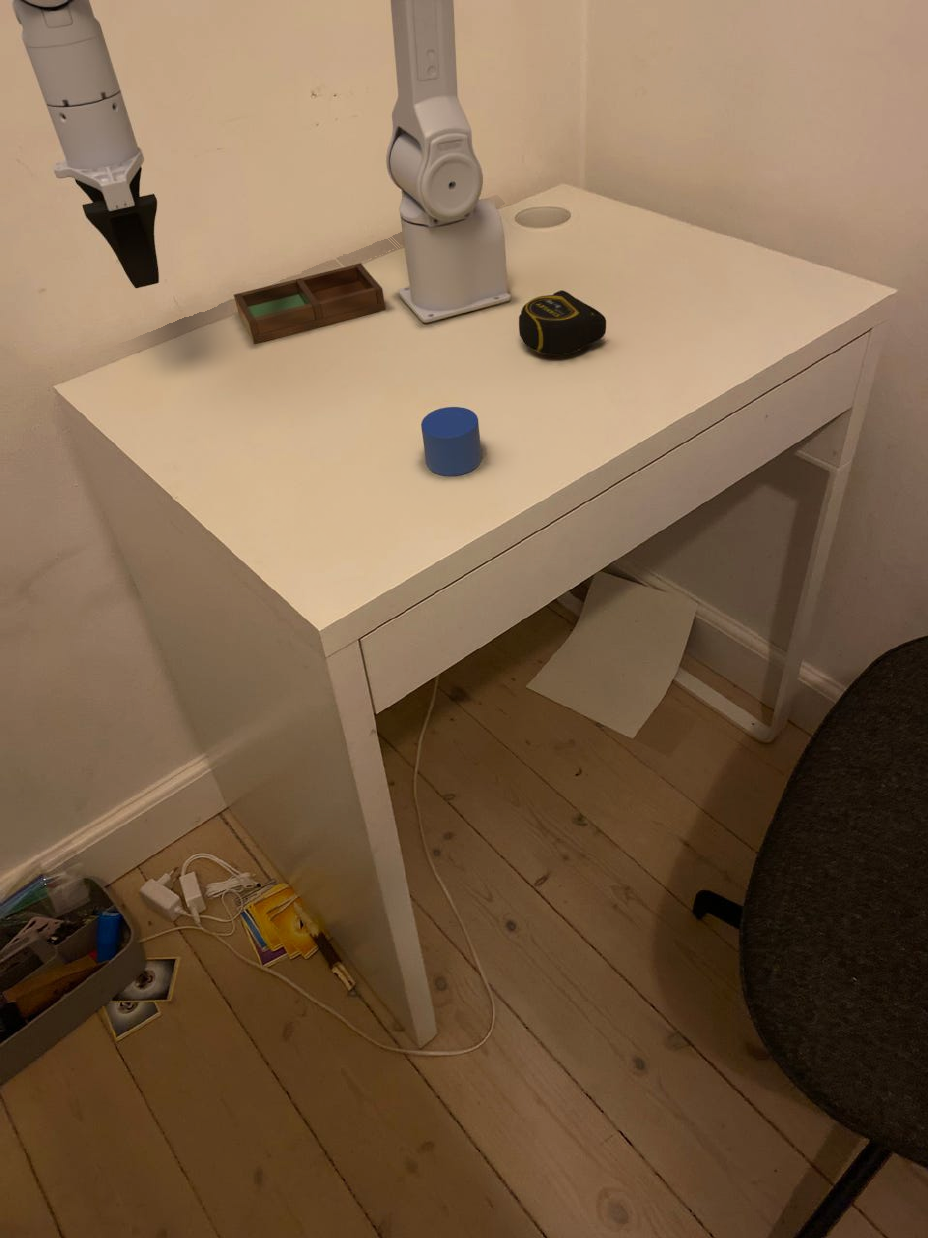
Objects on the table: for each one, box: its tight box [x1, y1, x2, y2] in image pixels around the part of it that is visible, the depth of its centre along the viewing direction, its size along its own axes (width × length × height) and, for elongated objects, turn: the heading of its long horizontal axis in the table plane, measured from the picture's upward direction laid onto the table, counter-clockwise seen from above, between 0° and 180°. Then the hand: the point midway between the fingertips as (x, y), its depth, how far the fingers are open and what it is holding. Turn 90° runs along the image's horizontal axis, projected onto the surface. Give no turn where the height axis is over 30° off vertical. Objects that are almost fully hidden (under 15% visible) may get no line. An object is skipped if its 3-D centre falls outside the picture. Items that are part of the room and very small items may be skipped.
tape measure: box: [518, 290, 607, 356], centre depth 84 cm, size 7×7×4 cm
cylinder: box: [420, 406, 482, 477], centre depth 72 cm, size 4×4×4 cm
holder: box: [233, 262, 386, 345], centre depth 94 cm, size 14×7×2 cm, turn 112°
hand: (140, 268), depth 81 cm, fingers open, 7 cm apart
